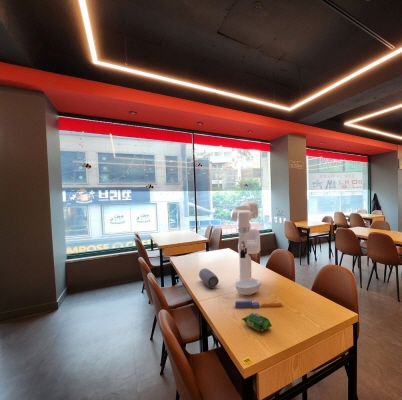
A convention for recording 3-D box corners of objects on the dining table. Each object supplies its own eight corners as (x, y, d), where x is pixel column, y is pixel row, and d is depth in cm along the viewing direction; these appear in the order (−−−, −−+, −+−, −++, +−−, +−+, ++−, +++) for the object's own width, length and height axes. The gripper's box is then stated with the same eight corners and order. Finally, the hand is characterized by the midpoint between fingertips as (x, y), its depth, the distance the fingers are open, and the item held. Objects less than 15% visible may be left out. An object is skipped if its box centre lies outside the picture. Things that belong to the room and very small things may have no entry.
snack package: (250, 318, 123) (250, 309, 123) (272, 328, 113) (272, 318, 113) (241, 324, 118) (240, 314, 118) (263, 335, 108) (263, 324, 108)
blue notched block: (235, 308, 134) (235, 303, 134) (236, 305, 139) (236, 300, 139) (259, 308, 135) (258, 302, 135) (259, 304, 140) (259, 299, 140)
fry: (261, 306, 137) (261, 303, 137) (261, 305, 139) (261, 302, 139) (281, 306, 137) (281, 303, 137) (281, 304, 139) (281, 301, 139)
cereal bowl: (250, 286, 169) (250, 276, 169) (265, 292, 157) (265, 282, 157) (231, 293, 157) (230, 282, 157) (245, 300, 145) (245, 289, 145)
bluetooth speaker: (219, 287, 166) (219, 274, 166) (206, 290, 161) (206, 276, 161) (209, 278, 185) (209, 266, 185) (198, 281, 180) (198, 268, 180)
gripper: (239, 228, 157) (239, 252, 157) (235, 232, 139) (236, 259, 140) (250, 228, 157) (250, 252, 157) (248, 231, 140) (248, 259, 140)
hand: (243, 255), depth 149 cm, fingers open, 9 cm apart
